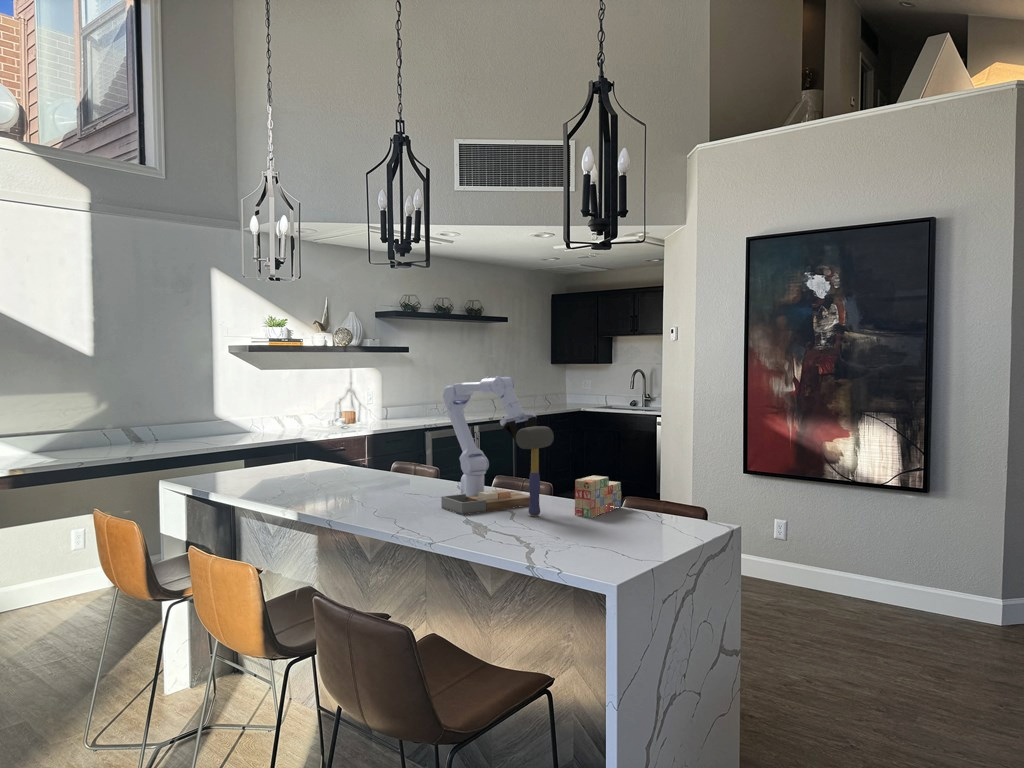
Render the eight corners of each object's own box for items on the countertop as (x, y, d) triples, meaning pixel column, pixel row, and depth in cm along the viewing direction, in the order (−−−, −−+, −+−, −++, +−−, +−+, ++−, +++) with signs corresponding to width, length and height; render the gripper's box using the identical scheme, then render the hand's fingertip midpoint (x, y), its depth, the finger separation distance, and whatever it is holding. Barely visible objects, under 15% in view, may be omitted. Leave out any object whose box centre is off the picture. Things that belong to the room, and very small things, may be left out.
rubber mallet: (530, 520, 229) (531, 428, 228) (513, 517, 234) (514, 426, 233) (554, 515, 238) (555, 425, 237) (538, 511, 243) (538, 424, 242)
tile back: (491, 496, 255) (491, 490, 255) (502, 494, 258) (502, 489, 258) (499, 498, 251) (499, 492, 251) (510, 496, 254) (510, 491, 254)
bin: (441, 507, 249) (441, 496, 249) (465, 504, 254) (465, 493, 254) (462, 514, 237) (462, 502, 237) (486, 511, 243) (486, 499, 243)
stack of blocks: (605, 506, 255) (606, 472, 254) (621, 508, 251) (621, 473, 251) (574, 515, 237) (574, 479, 237) (590, 518, 234) (591, 481, 233)
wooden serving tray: (465, 504, 254) (465, 496, 254) (511, 499, 266) (511, 491, 266) (487, 511, 243) (487, 502, 243) (533, 505, 254) (533, 496, 254)
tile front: (478, 497, 252) (478, 492, 252) (490, 496, 255) (490, 490, 255) (486, 499, 248) (486, 494, 248) (497, 498, 251) (498, 492, 251)
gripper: (501, 403, 246) (516, 437, 241) (533, 398, 255) (549, 431, 250) (492, 413, 252) (506, 447, 247) (524, 408, 260) (539, 440, 255)
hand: (527, 439), depth 249 cm, fingers open, 7 cm apart
